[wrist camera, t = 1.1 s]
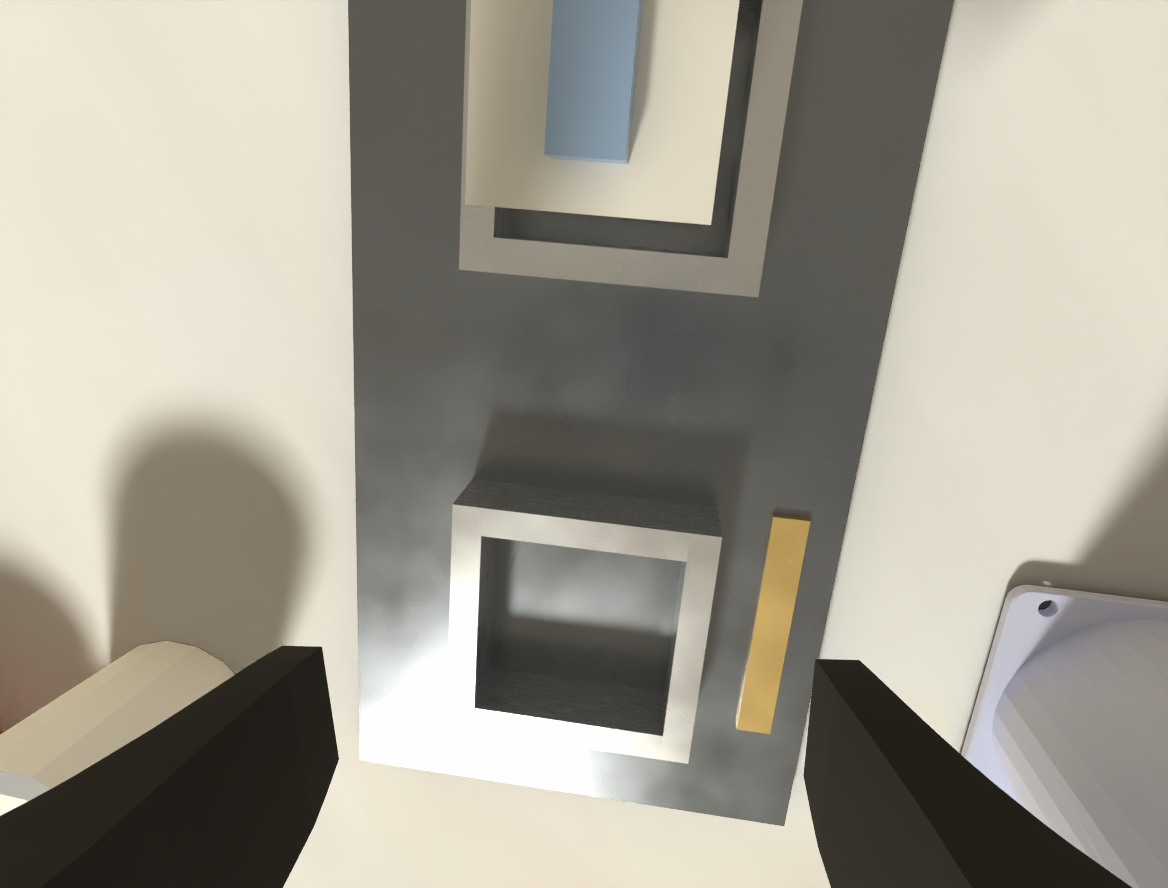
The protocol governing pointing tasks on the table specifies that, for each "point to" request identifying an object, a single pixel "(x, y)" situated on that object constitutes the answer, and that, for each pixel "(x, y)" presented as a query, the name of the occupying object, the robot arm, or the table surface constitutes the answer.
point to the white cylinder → (102, 716)
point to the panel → (620, 416)
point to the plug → (598, 105)
